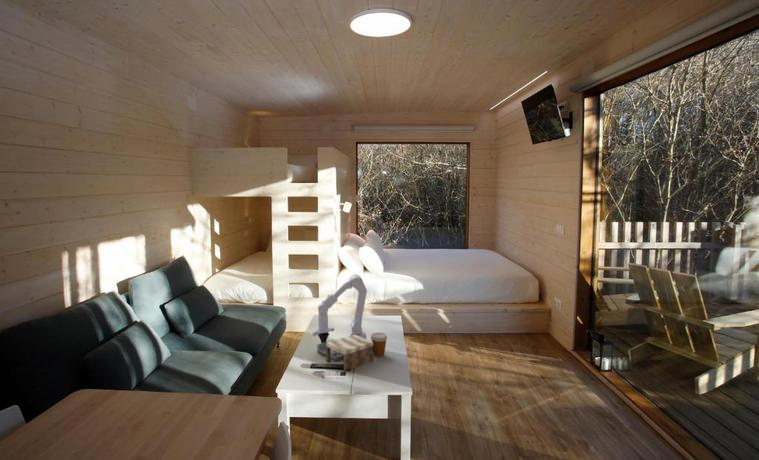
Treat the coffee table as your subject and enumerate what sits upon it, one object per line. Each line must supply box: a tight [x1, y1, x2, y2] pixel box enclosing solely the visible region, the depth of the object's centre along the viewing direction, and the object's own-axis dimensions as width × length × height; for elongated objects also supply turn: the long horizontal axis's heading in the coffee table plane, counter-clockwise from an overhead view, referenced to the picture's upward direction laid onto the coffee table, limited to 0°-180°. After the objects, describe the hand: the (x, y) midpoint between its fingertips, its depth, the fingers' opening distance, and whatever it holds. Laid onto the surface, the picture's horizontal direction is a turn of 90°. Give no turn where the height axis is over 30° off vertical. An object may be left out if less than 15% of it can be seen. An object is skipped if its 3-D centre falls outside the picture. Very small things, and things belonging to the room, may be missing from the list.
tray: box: [316, 339, 344, 362], centre depth 262 cm, size 11×18×6 cm, turn 42°
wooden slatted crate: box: [326, 334, 374, 371], centre depth 250 cm, size 20×16×11 cm
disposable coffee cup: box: [370, 332, 388, 358], centre depth 259 cm, size 10×10×12 cm
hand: (323, 344), depth 269 cm, fingers closed, pressing on tray
